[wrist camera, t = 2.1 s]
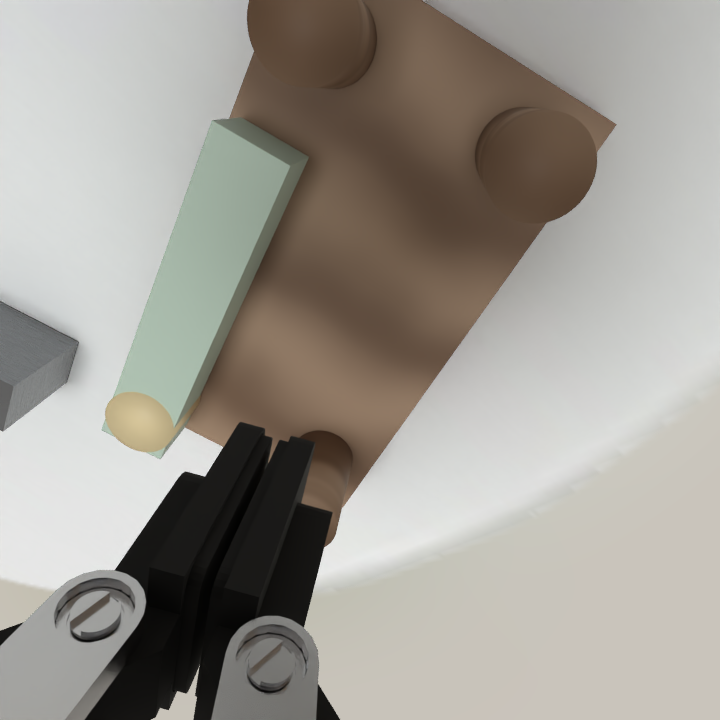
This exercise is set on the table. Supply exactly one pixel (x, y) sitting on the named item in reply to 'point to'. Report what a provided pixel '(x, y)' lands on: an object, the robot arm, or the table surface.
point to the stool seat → (384, 219)
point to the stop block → (29, 363)
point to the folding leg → (202, 280)
